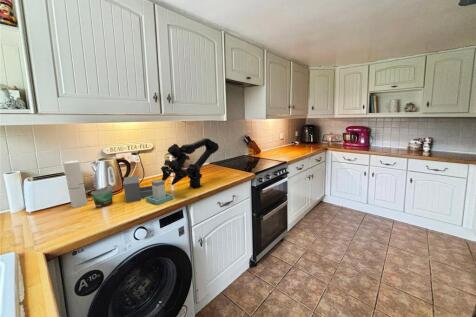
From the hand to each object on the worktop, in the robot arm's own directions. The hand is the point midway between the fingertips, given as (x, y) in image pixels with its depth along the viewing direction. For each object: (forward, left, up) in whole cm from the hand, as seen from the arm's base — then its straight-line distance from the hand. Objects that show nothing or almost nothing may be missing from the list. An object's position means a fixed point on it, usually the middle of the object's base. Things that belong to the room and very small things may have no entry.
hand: (166, 183), depth 129 cm
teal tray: (+6, +1, -8) cm, 10 cm away
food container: (+29, -16, -9) cm, 34 cm away
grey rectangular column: (+40, -28, -9) cm, 49 cm away
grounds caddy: (+6, +1, -8) cm, 10 cm away
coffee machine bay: (+10, -15, -8) cm, 20 cm away
